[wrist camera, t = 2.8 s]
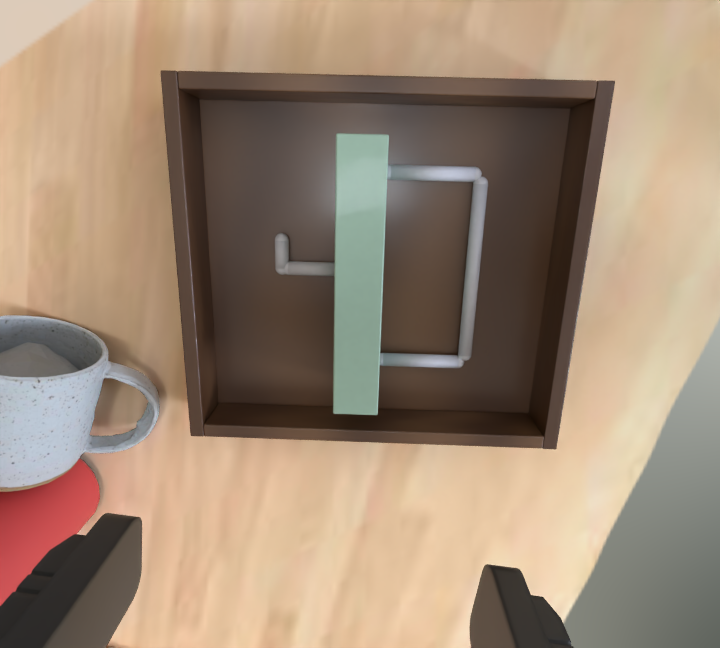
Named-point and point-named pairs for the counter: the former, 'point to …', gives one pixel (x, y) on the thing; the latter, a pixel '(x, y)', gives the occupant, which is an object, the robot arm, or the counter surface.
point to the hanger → (378, 267)
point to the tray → (401, 251)
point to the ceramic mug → (56, 399)
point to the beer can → (42, 521)
